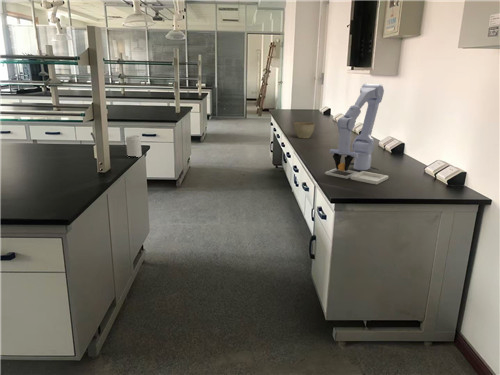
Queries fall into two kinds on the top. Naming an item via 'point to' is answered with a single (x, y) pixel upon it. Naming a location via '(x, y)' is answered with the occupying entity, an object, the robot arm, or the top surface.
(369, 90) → the robot arm
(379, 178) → the dish
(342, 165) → the ball
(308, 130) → the planter bowl
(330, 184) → the top surface
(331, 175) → the tray
